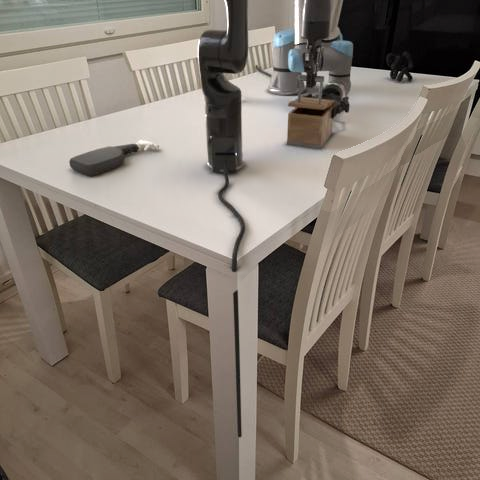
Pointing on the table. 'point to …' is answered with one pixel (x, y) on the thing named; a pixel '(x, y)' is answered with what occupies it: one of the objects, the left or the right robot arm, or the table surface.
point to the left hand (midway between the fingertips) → (310, 86)
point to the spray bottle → (106, 157)
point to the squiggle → (399, 66)
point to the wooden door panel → (311, 102)
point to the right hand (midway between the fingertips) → (315, 112)
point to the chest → (309, 127)
